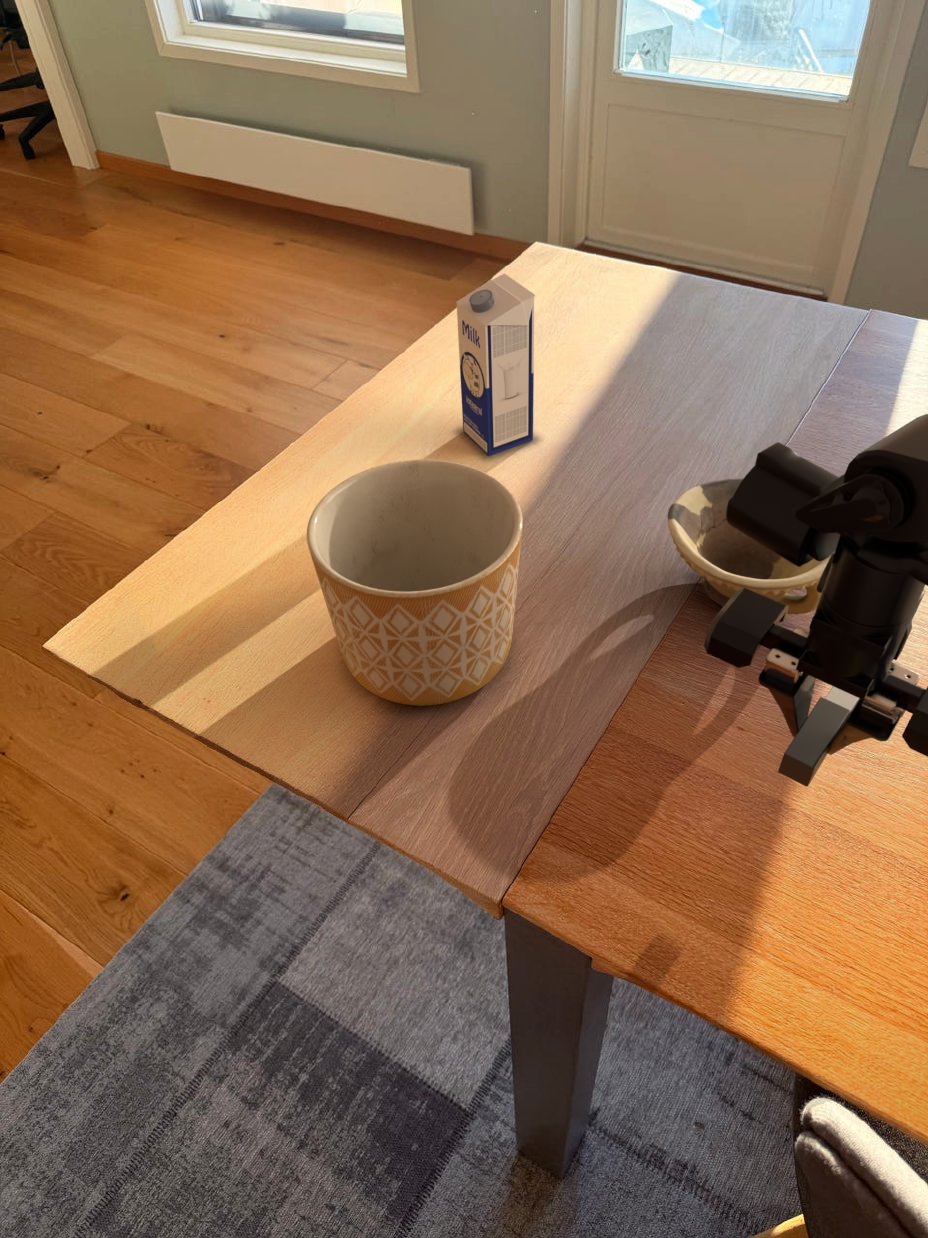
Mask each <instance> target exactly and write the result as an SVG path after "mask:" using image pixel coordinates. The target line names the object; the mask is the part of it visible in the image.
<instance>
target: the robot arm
mask: <svg viewBox="0 0 928 1238" xmlns="http://www.w3.org/2000/svg"><path fill="white" fill-rule="evenodd" d="M743 478H744V479H743V480H742V482H741V483H740V485H739V486H738V488H737V490H736V492H735V494H734V496H733V497H732V498H731V499H730V500H729V502H728V505H727V510H726V518H727V522H728V524H729V525H730V526H732V527H733V528H735V529H737V530H738V531H740V532H742V533H743V534H745V535H746V536H748V537H750V538H751V539H753V540H755V541H756V542H758V543H759V544H761V545H763V546H764V547H766V548H768V549H769V550H771V551H772V552H774V553H776V554H777V555H779V556H781V557H782V558H784V559H786V560H787V561H789V562H790V563H792V564H794V565H796V566H798V567H801V566H802V565H804V564H806V563H808V562H810V561H811V560H812V559H815V560H817V561H823V560H825V559H827V558H828V557H829V556H830V555H831V557H830V559H829V561H828V563H827V565H826V567H825V569H824V571H823V573H822V575H821V578H820V580H819V583H818V585H817V589H816V590H817V592H819V593H821V596H820V599H819V602H818V606H817V608H816V609H815V611H814V615H813V616H812V617H811V621H810V624H809V627H808V629H809V630H808V631H805V630H802V629H800V628H797V627H796V628H794V629H793V630H790V629H788V628H786V627H783V626H781V625H779V623H783V622H784V620H785V619H786V618H787V617H788V614H787V612H788V609H789V607H788V606H787V605H784V604H782V603H780V602H777V601H775V600H773V599H770V598H768V597H765V596H763V595H761V594H758V593H756V592H754V591H751V590H749V589H747V588H743V589H741V590H739V591H736V592H735V593H734V594H733V595H732V597H731V598H730V599H729V600H728V602H727V603H726V604H725V605H724V607H723V606H722V608H721V609H720V610H719V612H717V614H716V615H715V616H714V618H713V619H712V620H711V622H710V624H709V626H708V628H707V630H706V633H705V638H704V643H703V648H704V650H705V652H706V654H707V655H710V656H712V657H714V658H715V659H718V660H720V661H723V662H725V663H727V664H729V665H731V666H734V667H735V668H738V669H741V668H746V667H750V666H751V665H752V664H753V663H754V662H755V659H756V655H757V652H758V651H759V649H760V648H761V647H764V648H766V649H768V650H769V652H768V653H767V655H766V657H765V662H766V664H765V666H764V668H763V669H762V670H761V672H760V673H759V675H758V680H757V681H758V683H759V685H760V686H762V687H764V688H765V689H767V690H768V691H769V693H770V695H771V696H772V698H773V699H774V701H775V702H776V704H777V706H778V707H779V709H780V711H781V713H782V715H783V718H784V720H785V723H786V725H787V728H788V730H789V732H790V734H791V736H792V737H793V738H794V737H795V736H796V734H797V733H798V732H799V730H800V729H801V727H802V726H803V724H804V722H805V721H806V719H807V717H808V716H809V714H810V709H811V703H812V699H813V694H814V689H815V683H816V681H817V680H818V681H821V682H823V683H825V684H827V685H830V686H831V687H833V686H834V687H836V688H838V689H840V690H842V691H845V692H847V693H849V694H851V695H853V696H856V697H858V698H859V699H858V700H857V702H856V703H855V705H854V706H853V708H852V709H851V711H850V712H849V714H848V715H847V717H846V718H845V720H844V721H843V723H842V724H841V726H840V727H839V729H838V730H837V732H836V733H835V735H834V737H833V738H832V740H831V742H830V743H829V745H828V749H827V755H829V756H832V755H834V754H836V753H838V752H839V751H841V750H842V749H844V748H846V747H848V746H850V745H852V744H855V743H858V742H861V741H865V740H868V739H873V740H876V741H878V742H887V741H889V739H890V738H891V736H892V734H893V732H894V731H895V729H896V727H897V725H898V724H899V721H900V720H901V718H903V716H904V715H905V713H906V712H907V713H910V714H912V715H911V716H910V719H909V720H908V722H907V724H906V726H905V728H904V730H903V732H902V734H901V737H902V739H903V740H904V742H905V744H906V745H907V746H908V748H909V749H910V750H912V751H915V752H917V753H918V754H921V755H923V756H925V757H927V758H928V686H927V687H926V688H923V687H921V686H919V685H918V682H919V681H920V679H921V674H920V673H919V672H917V671H914V670H912V669H909V668H907V667H905V666H903V665H900V664H898V663H896V662H894V661H897V660H898V658H899V657H900V655H901V653H902V652H903V650H904V648H905V645H906V643H907V640H908V638H909V636H910V634H911V632H912V629H913V619H914V618H915V615H916V613H917V610H918V608H919V606H920V605H921V602H922V600H923V598H924V596H925V594H926V590H925V588H926V586H927V587H928V413H924V414H923V415H920V416H918V417H916V418H914V419H912V420H911V421H909V422H907V423H906V424H904V425H902V426H901V427H899V428H898V429H896V430H894V431H893V432H891V433H890V434H888V435H886V436H885V437H883V438H882V439H880V440H879V441H877V442H875V443H873V444H872V445H870V446H869V447H867V448H865V449H864V450H862V451H861V452H859V453H858V454H856V456H855V457H853V459H852V460H850V462H849V463H848V464H847V467H846V470H845V472H844V473H843V474H842V475H840V476H838V475H836V474H835V473H833V472H831V471H829V470H827V469H825V468H823V467H821V466H819V465H818V464H816V463H814V462H812V461H809V460H808V459H806V458H804V457H803V456H801V455H799V453H797V452H796V451H795V450H794V449H792V448H791V447H788V446H787V445H785V444H783V443H781V442H779V441H776V442H774V443H773V444H772V445H770V446H768V447H767V448H764V449H763V450H760V451H759V452H758V453H757V455H756V459H755V464H754V466H753V467H752V468H751V469H750V470H749V471H748V473H746V475H745V476H744V477H743Z"/></svg>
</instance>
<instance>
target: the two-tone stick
mask: <svg viewBox="0 0 928 1238" xmlns="http://www.w3.org/2000/svg"><path fill="white" fill-rule="evenodd" d="M858 699H859V698H858V697H856V696H853V695H851V694H849V693H847V692H845V691H842V690H840V689H838V688H836V687H834V686H831V689H830V690H829V691H828V693H827V694H826V696H825V697H823V696H820V697H819V698H818V700H817V701H816V703H815V704H814V706H813V708H812V709H811V710H810V712H809V713H808V717H807V719H806V721H805V722H804V724H803V726H802V727H801V729H800V730H799V732H798V733H797V734H796V736H795V737H793V739H792V741H791V742H790V744H789V745H788V747H787V748H786V750H785V751H784V753H783V755H782V759H781V761H780V764H779V767H778V770H777V772H778V773H779V774H781V775H783V776H785V777H786V778H788V779H790V780H793V781H794V782H797V783H798V784H800V785H802V786H804V787H806V788H807V787H809V786H810V784H811V782H812V780H813V779H814V777H815V776H816V774H817V772H818V770H819V769H820V767H821V766H822V764H823V762H824V761H825V759H826V758H827V756H828V754H827V749H828V745H829V743H830V742H831V740H832V738H833V737H834V735H835V733H836V732H837V730H838V729H839V727H840V726H841V724H842V723H843V721H844V720H845V718H846V717H847V715H848V714H849V712H850V711H851V709H852V708H853V706H854V705H855V703H856V702H857V700H858Z"/></svg>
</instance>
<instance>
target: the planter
mask: <svg viewBox="0 0 928 1238" xmlns="http://www.w3.org/2000/svg"><path fill="white" fill-rule="evenodd" d="M523 520H524V519H523V513H522V509H521V506H520V504H519V501H518V500H517V498H516V497H515V496H514V494H513V493H512V492H511V490H510V489H509V488H508V487H507V486H505V484H503V483H502V482H501V481H500V480H499V479H497V478H495V477H494V476H492V475H490V474H489V473H487V472H486V471H483V470H481V469H479V468H476V467H473V466H470V465H467V464H463V463H458V462H456V461H455V462H454V461H449V460H440V459H408V460H400V461H393V462H389V463H385V464H380V465H377V466H374V467H371V468H368V469H365V470H363V471H360V472H358V473H355V474H354V475H352V476H349V477H348V478H346V479H344V480H343V481H341V482H339V483H338V484H337V485H336V486H334V487H333V488H332V489H331V490H329V491H328V492H327V493H326V494H325V495H324V496H323V497H322V498H321V499H320V500H319V501H318V503H317V504H316V506H315V508H314V509H313V510H312V513H311V515H310V517H309V519H308V523H307V527H306V543H307V547H308V551H309V554H310V557H311V560H312V563H313V567H314V570H315V573H316V576H317V579H318V582H319V585H320V589H321V592H322V596H323V599H324V602H325V605H326V608H327V611H328V614H329V618H330V621H331V625H332V627H333V628H332V629H333V630H334V633H335V636H336V640H337V643H338V647H339V650H340V653H341V657H342V659H343V661H344V664H345V666H346V668H347V669H348V671H349V673H350V674H351V676H352V677H353V678H354V679H355V681H356V682H358V683H359V684H360V685H361V686H362V687H363V688H365V689H366V690H367V691H369V692H370V693H372V694H374V695H375V696H377V697H380V698H382V699H384V700H387V701H390V702H393V703H398V704H402V705H407V706H419V707H420V706H436V705H443V704H447V703H451V702H455V701H457V700H460V699H463V698H465V697H467V696H470V695H472V694H473V693H475V692H477V691H478V690H480V689H481V688H484V686H486V685H487V684H488V683H489V682H490V681H491V680H492V679H494V677H496V675H497V674H498V673H499V672H500V670H502V668H503V666H504V665H505V662H506V661H507V659H508V656H509V654H510V650H511V647H512V641H513V631H514V621H515V611H516V600H517V588H518V581H519V580H518V579H519V570H520V569H519V568H520V567H519V566H520V556H521V548H522V547H521V546H522V537H523V536H522V535H523V527H524V526H523V525H524V521H523Z"/></svg>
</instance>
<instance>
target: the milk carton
mask: <svg viewBox="0 0 928 1238" xmlns="http://www.w3.org/2000/svg"><path fill="white" fill-rule="evenodd" d="M535 296H536V294H535V293H533V291H531V290H529V289H528V288H526V287H525V286H524V285H522V284H520V283H519V282H518V281H516V280H515V279H513V278H512V277H510V275H508V274H506V273H502V274H501V275H498V276H497V277H494V278H493V279H490V280H488V281H486V282H485V283H483V284H482V285H480V286H478V287H477V288H476V289H474V290H473V291H471V292H469V293H468V294H466V295H465V296H463V297H462V298H460V299H459V300H457V301H455V303H456V317H457V318H456V319H457V335H458V337H457V338H458V356H459V359H458V360H459V373H460V375H459V376H460V396H461V397H460V398H461V415H462V432H463V433H464V434H465V435H466V436H467V437H468V438H469V439H471V441H473V443H474V444H476V445H477V447H478V448H480V449H481V450H482V451H483V453H485V454H486V455H487V456H488V457H490V456H493V455H496V454H499V453H501V452H504V451H506V450H510V449H512V448H515V447H519V446H520V445H523V444H526V443H529V442H532V441H533V440H534V390H535V389H534V388H535V387H534V385H535V383H534V382H535V381H534V380H535V379H534V378H535V377H534V376H535V298H536V297H535Z"/></svg>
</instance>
